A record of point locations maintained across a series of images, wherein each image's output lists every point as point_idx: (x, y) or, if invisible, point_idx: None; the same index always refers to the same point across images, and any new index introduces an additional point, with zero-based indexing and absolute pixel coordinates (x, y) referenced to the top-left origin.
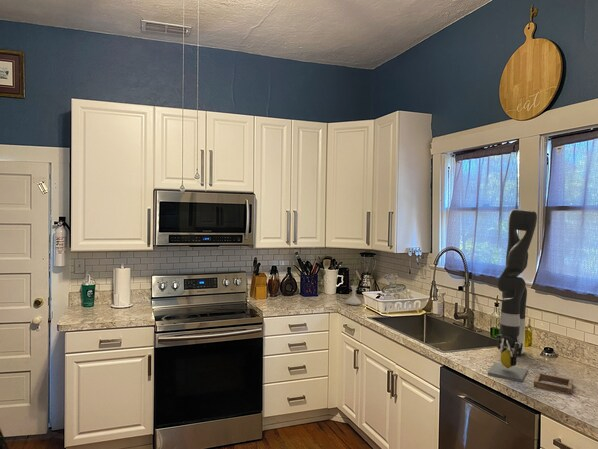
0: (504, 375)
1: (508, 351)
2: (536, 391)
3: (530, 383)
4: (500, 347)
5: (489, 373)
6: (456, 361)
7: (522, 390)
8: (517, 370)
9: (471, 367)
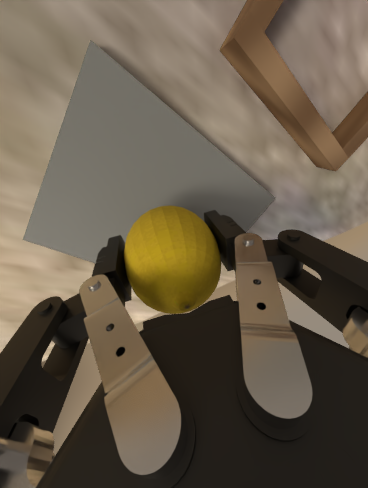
0: None
1: (200, 297)
2: (351, 182)
3: (287, 163)
4: (87, 335)
5: None
6: None
7: (326, 226)
8: (149, 159)
9: None
